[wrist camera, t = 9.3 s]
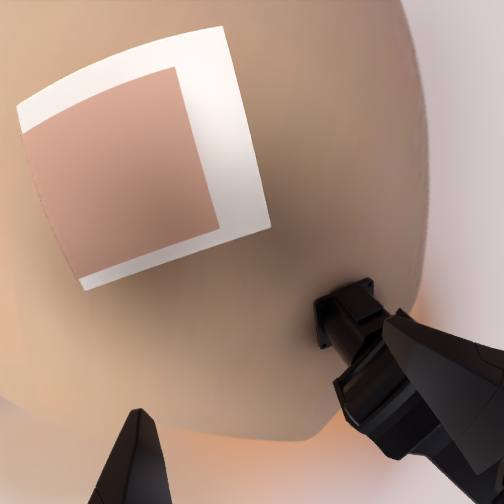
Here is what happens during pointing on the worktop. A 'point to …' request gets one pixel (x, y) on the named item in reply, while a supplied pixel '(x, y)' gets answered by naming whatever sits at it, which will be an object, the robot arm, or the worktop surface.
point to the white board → (202, 124)
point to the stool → (121, 174)
